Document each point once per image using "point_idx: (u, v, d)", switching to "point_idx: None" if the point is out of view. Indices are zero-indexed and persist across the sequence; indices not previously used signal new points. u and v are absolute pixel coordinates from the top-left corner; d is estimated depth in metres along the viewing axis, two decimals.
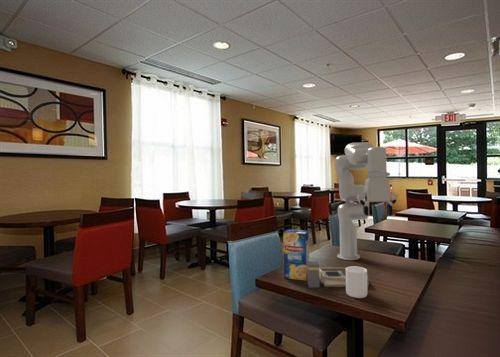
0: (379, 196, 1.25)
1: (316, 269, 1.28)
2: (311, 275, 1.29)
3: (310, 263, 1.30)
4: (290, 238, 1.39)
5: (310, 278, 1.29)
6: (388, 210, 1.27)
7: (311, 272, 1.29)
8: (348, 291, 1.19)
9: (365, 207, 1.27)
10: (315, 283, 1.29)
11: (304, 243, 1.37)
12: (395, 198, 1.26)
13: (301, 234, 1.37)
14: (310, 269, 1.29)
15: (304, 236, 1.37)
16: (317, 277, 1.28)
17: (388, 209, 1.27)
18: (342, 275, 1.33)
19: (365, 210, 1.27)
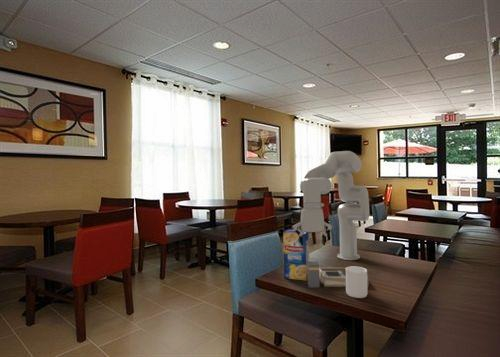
0: (313, 226, 1.28)
1: (316, 269, 1.28)
2: (311, 275, 1.29)
3: (310, 263, 1.30)
4: (290, 238, 1.39)
5: (310, 278, 1.29)
6: (322, 240, 1.30)
7: (311, 272, 1.29)
8: (348, 291, 1.19)
9: (300, 237, 1.30)
10: (315, 283, 1.29)
11: (304, 243, 1.37)
12: (329, 228, 1.30)
13: None
14: (310, 269, 1.29)
15: (304, 236, 1.37)
16: (317, 277, 1.28)
17: (322, 239, 1.30)
18: (342, 275, 1.33)
19: (300, 240, 1.30)
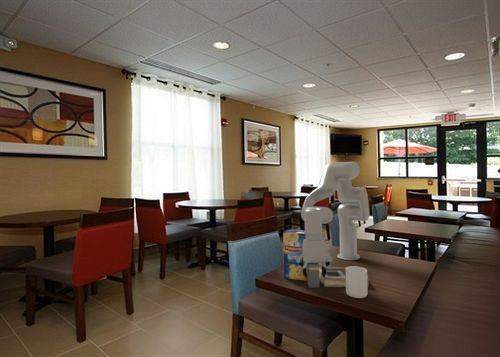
0: (315, 258, 1.28)
1: (316, 269, 1.28)
2: (311, 275, 1.29)
3: (310, 263, 1.30)
4: (290, 238, 1.39)
5: (310, 278, 1.29)
6: (322, 272, 1.30)
7: (311, 272, 1.29)
8: (348, 291, 1.19)
9: (303, 269, 1.30)
10: (315, 283, 1.29)
11: None
12: (329, 260, 1.30)
13: (301, 234, 1.37)
14: (310, 269, 1.29)
15: (304, 236, 1.37)
16: (317, 277, 1.28)
17: (322, 271, 1.30)
18: (342, 275, 1.33)
19: (303, 272, 1.30)
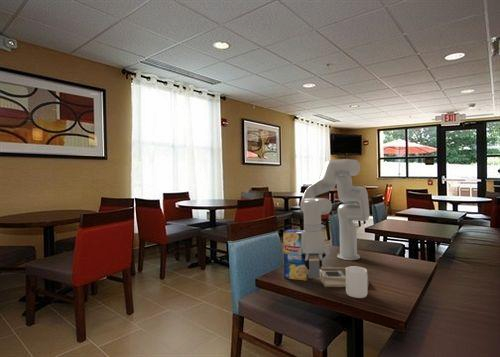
0: (314, 248, 1.29)
1: (316, 260, 1.29)
2: (311, 266, 1.29)
3: (310, 254, 1.31)
4: (290, 238, 1.39)
5: (310, 269, 1.29)
6: None
7: (311, 263, 1.29)
8: (348, 291, 1.19)
9: (306, 261, 1.30)
10: (316, 274, 1.29)
11: None
12: (326, 253, 1.30)
13: (301, 234, 1.37)
14: (310, 260, 1.29)
15: None
16: (317, 268, 1.29)
17: None
18: (342, 275, 1.33)
19: (306, 264, 1.30)
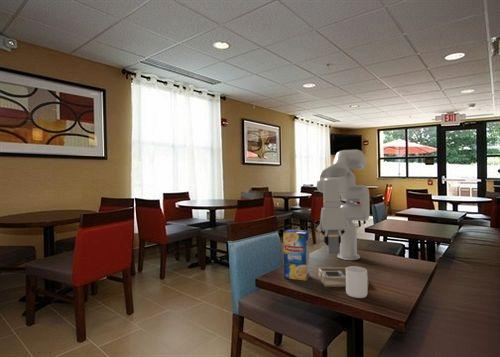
0: (333, 225, 1.33)
1: (335, 236, 1.33)
2: (331, 242, 1.33)
3: (329, 231, 1.35)
4: (290, 238, 1.39)
5: (330, 245, 1.33)
6: None
7: (331, 239, 1.33)
8: (348, 291, 1.19)
9: (325, 237, 1.34)
10: (335, 249, 1.33)
11: (304, 243, 1.37)
12: (345, 229, 1.34)
13: (301, 234, 1.37)
14: (330, 236, 1.33)
15: (304, 236, 1.37)
16: (336, 244, 1.33)
17: None
18: (342, 275, 1.33)
19: (325, 240, 1.35)
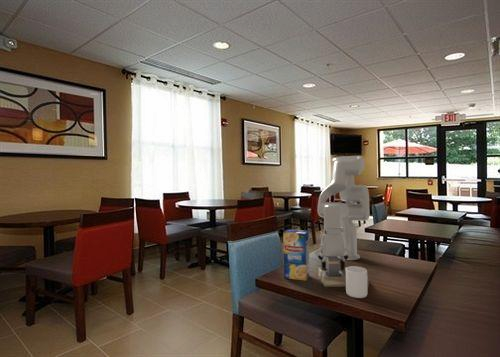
0: (334, 251, 1.33)
1: (336, 263, 1.34)
2: (331, 269, 1.34)
3: (330, 257, 1.35)
4: (290, 238, 1.39)
5: (330, 272, 1.34)
6: (341, 265, 1.35)
7: (331, 266, 1.34)
8: (348, 291, 1.19)
9: (323, 262, 1.35)
10: None
11: (304, 243, 1.37)
12: (348, 254, 1.34)
13: (301, 234, 1.37)
14: (330, 263, 1.34)
15: (304, 236, 1.37)
16: (337, 271, 1.34)
17: (341, 264, 1.35)
18: (342, 275, 1.33)
19: (323, 265, 1.35)
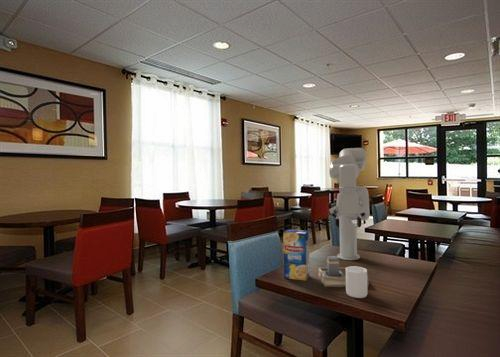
0: (349, 210, 1.37)
1: (336, 263, 1.34)
2: (331, 269, 1.34)
3: (330, 257, 1.35)
4: (290, 238, 1.39)
5: (330, 272, 1.34)
6: (358, 222, 1.38)
7: (331, 266, 1.34)
8: (348, 291, 1.19)
9: (336, 219, 1.39)
10: None
11: (304, 243, 1.37)
12: (364, 211, 1.38)
13: (301, 234, 1.37)
14: (330, 263, 1.34)
15: (304, 236, 1.37)
16: (337, 271, 1.34)
17: (358, 221, 1.38)
18: (342, 275, 1.33)
19: (336, 222, 1.39)
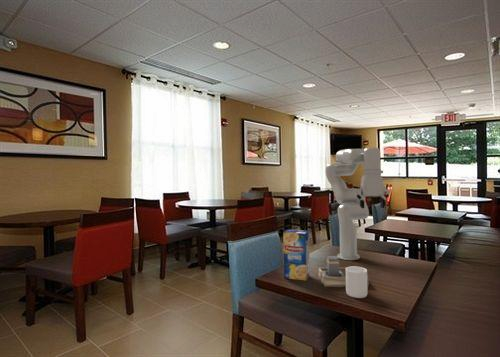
0: (374, 191, 1.42)
1: (336, 263, 1.34)
2: (331, 269, 1.34)
3: (330, 257, 1.35)
4: (290, 238, 1.39)
5: (330, 272, 1.34)
6: (381, 203, 1.44)
7: (331, 266, 1.34)
8: (348, 291, 1.19)
9: (361, 201, 1.43)
10: None
11: (304, 243, 1.37)
12: (388, 193, 1.43)
13: (301, 234, 1.37)
14: (330, 263, 1.34)
15: (304, 236, 1.37)
16: (337, 271, 1.34)
17: (381, 202, 1.44)
18: (342, 275, 1.33)
19: (361, 203, 1.44)
